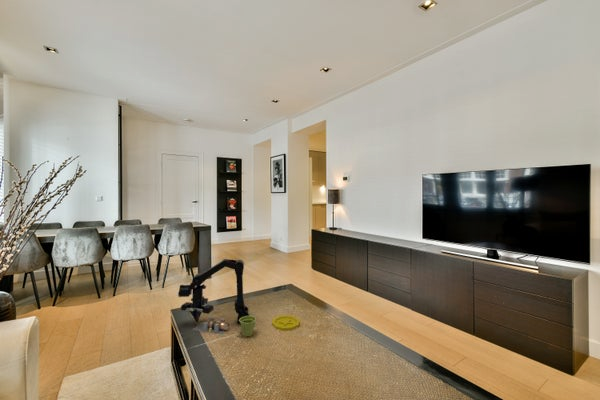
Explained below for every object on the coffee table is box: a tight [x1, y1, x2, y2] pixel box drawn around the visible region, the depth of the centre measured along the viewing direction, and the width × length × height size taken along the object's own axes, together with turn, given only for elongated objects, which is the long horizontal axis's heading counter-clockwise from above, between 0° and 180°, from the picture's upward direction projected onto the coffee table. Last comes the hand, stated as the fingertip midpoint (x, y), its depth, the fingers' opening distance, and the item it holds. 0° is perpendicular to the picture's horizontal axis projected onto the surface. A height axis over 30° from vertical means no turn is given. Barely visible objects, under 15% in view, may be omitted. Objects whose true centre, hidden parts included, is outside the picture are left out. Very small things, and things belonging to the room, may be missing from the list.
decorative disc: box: [271, 314, 301, 332], centre depth 167 cm, size 17×18×2 cm
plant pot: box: [239, 315, 257, 338], centre depth 153 cm, size 9×9×9 cm
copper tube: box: [207, 320, 231, 332], centre depth 156 cm, size 12×4×4 cm, turn 78°
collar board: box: [192, 316, 232, 335], centre depth 157 cm, size 20×10×6 cm, turn 77°
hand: (196, 321), depth 159 cm, fingers closed
